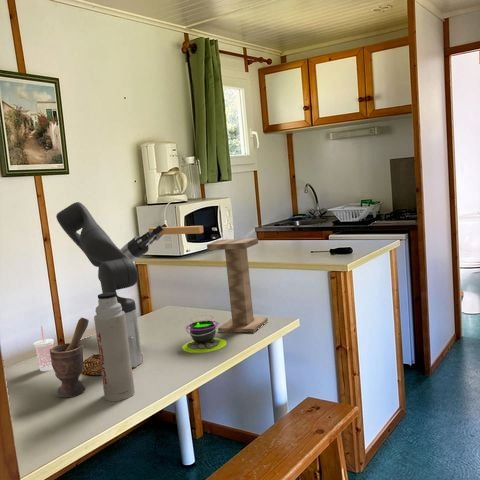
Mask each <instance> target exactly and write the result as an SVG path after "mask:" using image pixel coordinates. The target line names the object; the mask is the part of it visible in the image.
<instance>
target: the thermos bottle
mask: <svg viewBox="0 0 480 480" xmlns="http://www.w3.org/2000/svg"><path fill="white" fill-rule="evenodd" d="M117 295H118V294H117V291H116V292H107V293H100V294H97V301H98V305H97V306H96V307H95V315H94V317H93V321H94V327H95V335H96V336H95V337H96V341H97V351H98V357H99V365H100V373H101V380H102V386H103V394H104V399H105V401H110V402H119V401H124V400H127V399H129V398H131V397H133V396H134V395H135V393H136V392H135V383H134V376H133V375H134V374H133V369H132V367H131V360H130V350H129V342H128V334H127V326H126V318H125V312H124V311H122V307H121V304H120V303H118V302H117V298H116V296H117Z"/></svg>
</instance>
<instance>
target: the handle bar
mask: <svg viewBox="0 0 480 480" xmlns="http://www.w3.org/2000/svg"><path fill="white" fill-rule="evenodd" d="M156 227H157V226H155V227H149V228H148V232H150V231H151V230H154V229H155V228H156ZM162 228H163V230H162V231H161V232H160V233H158V234H157V235H162V236H163V235H190V234H191V235H192V234H194V235H195V234H196V235H198V234H203V233H204V225H190V226H189V225H188V226H187V225H186V226H184V225H183V226H167V227H162Z"/></svg>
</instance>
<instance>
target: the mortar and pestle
mask: <svg viewBox="0 0 480 480" xmlns="http://www.w3.org/2000/svg"><path fill="white" fill-rule="evenodd" d="M88 326H89V319H88V318H85V317H80V318H79V319H78V321H77V324H76V327H75V330H74V333H73V337H72V339H71V341H70V342H69V343H67V342H65V343H63V344H62V343H61V344H58V345H55V346H53V348H51V349H50V356H51V363H52V367H53V369H52V370H53V371H54V373H55V374H54V375H55V377H56V379H58V380H59V381H60V382H61V385H60V386H58V388H57V397H58V398H73V397H75V396H79V395H81V394H82V393H84V392H85V391H86V387H85V385H84V384H83V383H82V382H81V381H79V378H80V376H81V374H82V373H83V367H84V362H85V361H84V351H83V344H82V343H80V341H81V339H82V337H83V335H84V333H85V331H87V328H88Z"/></svg>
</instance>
